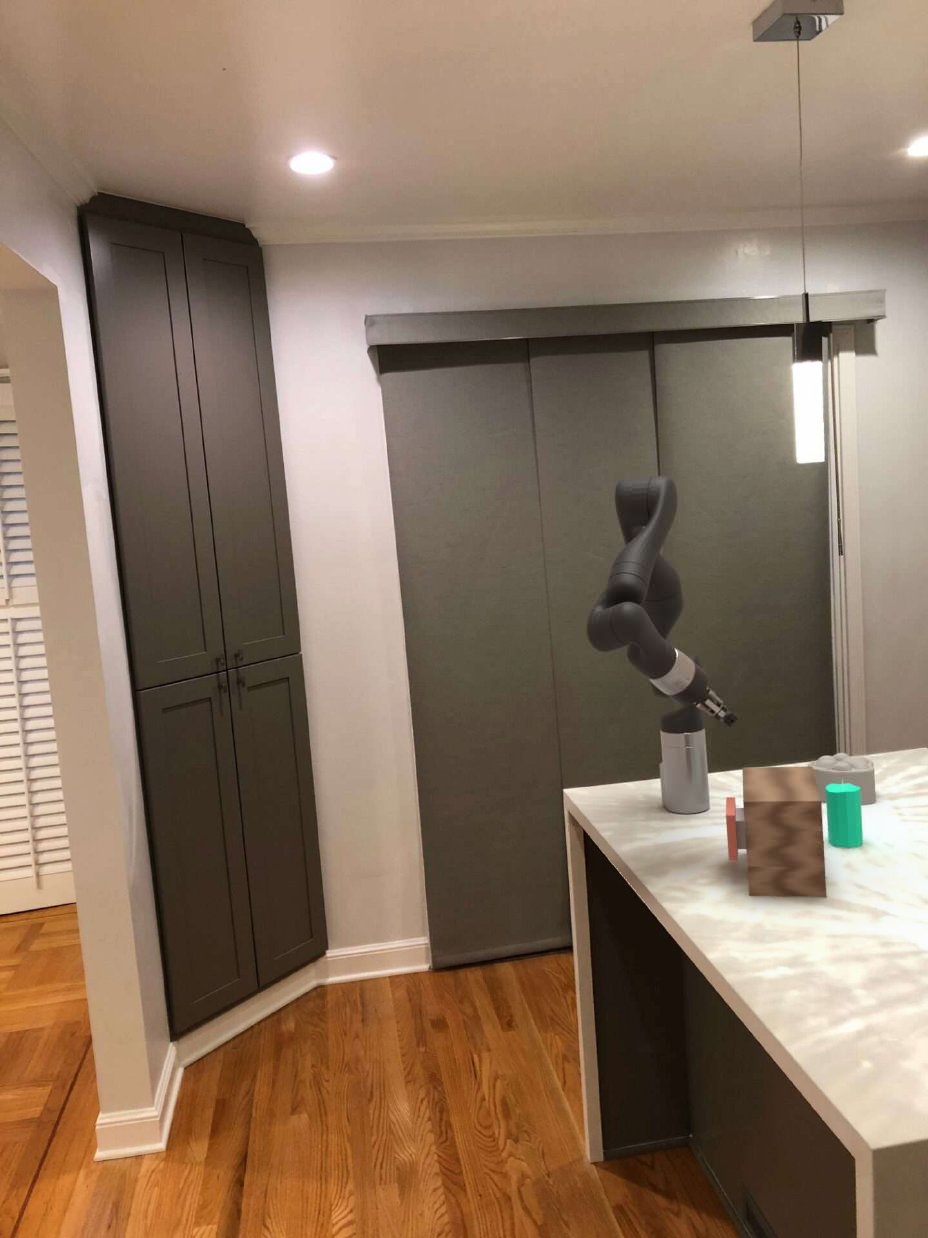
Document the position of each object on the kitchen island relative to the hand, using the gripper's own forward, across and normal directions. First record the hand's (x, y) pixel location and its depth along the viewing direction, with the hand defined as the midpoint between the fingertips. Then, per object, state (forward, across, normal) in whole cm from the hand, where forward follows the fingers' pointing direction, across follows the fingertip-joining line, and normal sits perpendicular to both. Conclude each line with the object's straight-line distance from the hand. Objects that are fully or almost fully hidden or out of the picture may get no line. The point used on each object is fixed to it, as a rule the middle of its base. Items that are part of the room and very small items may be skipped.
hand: (732, 721), depth 178 cm
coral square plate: (+7, -18, +14) cm, 24 cm away
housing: (+12, -21, +14) cm, 28 cm away
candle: (+27, -15, +4) cm, 31 cm away
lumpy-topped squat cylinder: (+44, +6, -2) cm, 44 cm away
